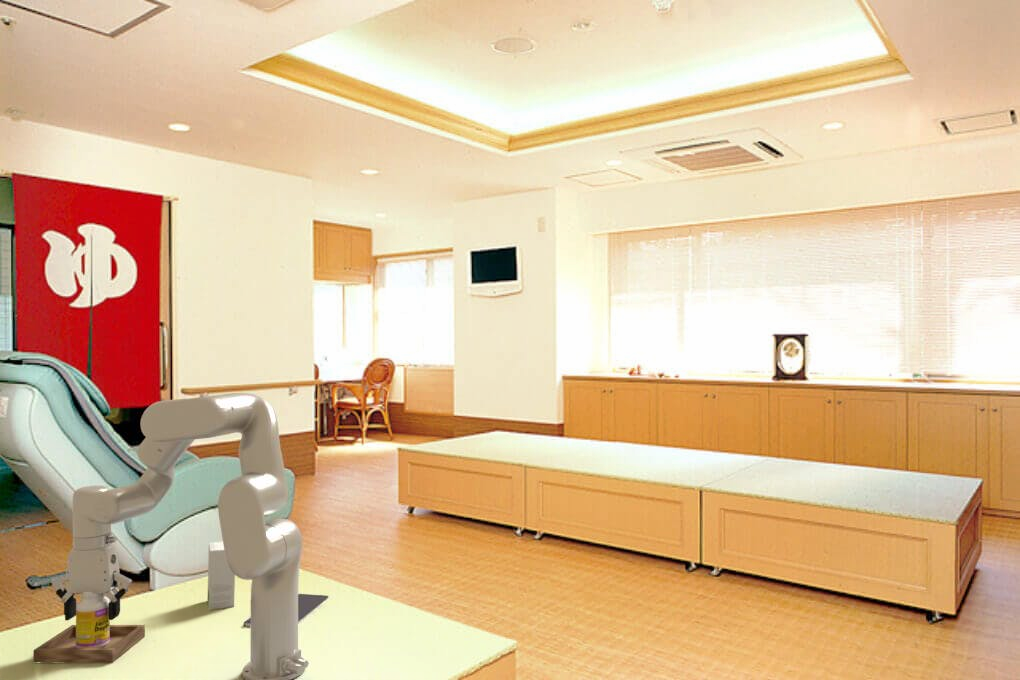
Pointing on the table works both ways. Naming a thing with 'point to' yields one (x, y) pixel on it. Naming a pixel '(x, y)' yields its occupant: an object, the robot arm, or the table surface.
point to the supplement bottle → (92, 621)
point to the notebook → (303, 606)
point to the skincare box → (219, 578)
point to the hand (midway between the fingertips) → (92, 618)
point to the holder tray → (66, 651)
